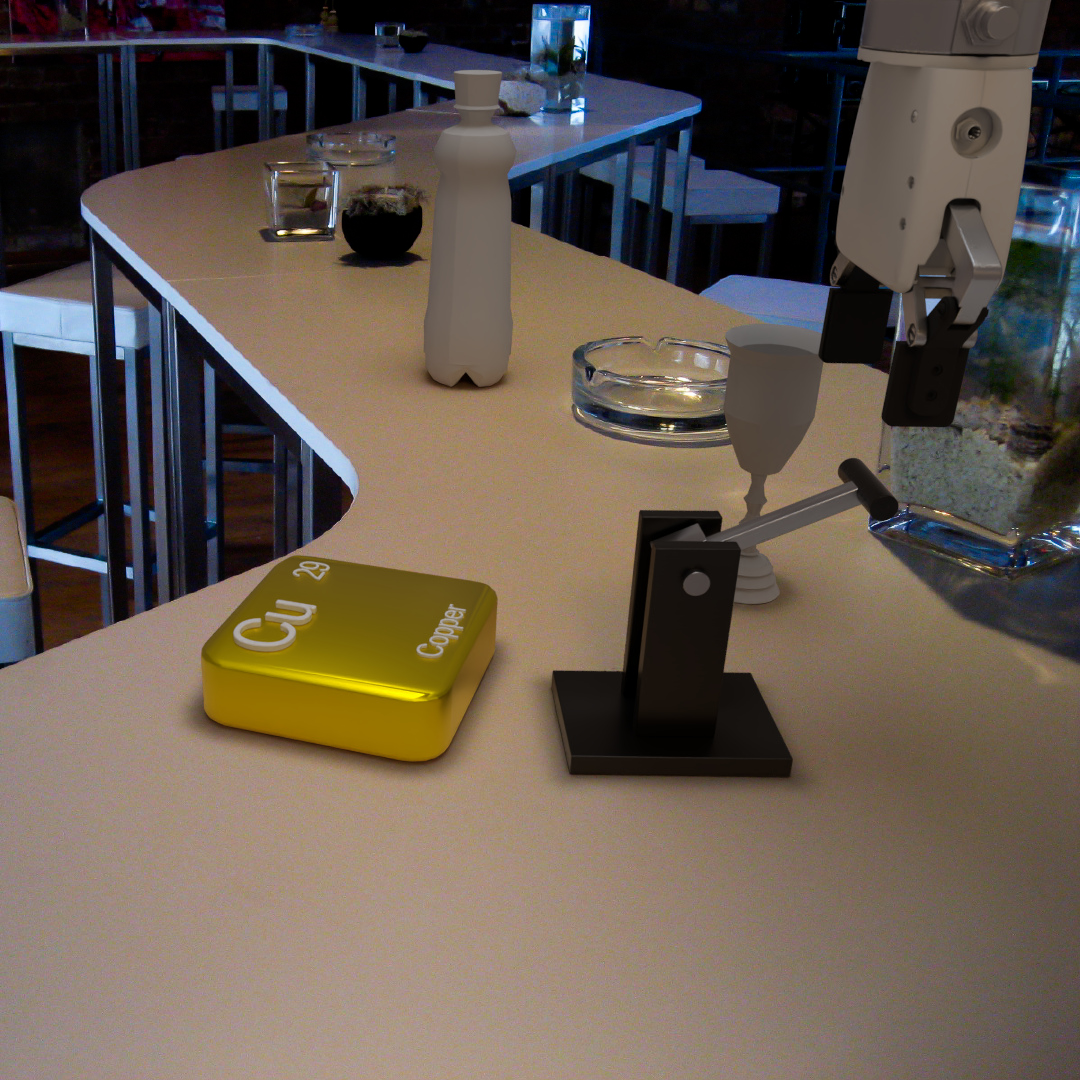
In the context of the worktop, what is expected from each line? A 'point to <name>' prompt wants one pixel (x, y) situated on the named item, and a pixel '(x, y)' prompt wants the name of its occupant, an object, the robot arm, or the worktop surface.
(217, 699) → the element tile
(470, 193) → the bottle
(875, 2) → the robot arm
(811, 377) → the chalice
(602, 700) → the bracket
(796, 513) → the lever
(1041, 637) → the worktop surface
